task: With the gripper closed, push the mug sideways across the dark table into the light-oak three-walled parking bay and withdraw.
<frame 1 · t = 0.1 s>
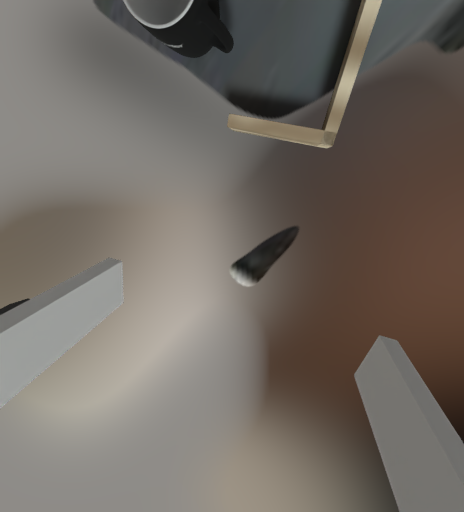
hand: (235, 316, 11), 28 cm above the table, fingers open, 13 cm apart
bay: (298, 57, 28), on the table
mug: (205, 35, 29), on the table
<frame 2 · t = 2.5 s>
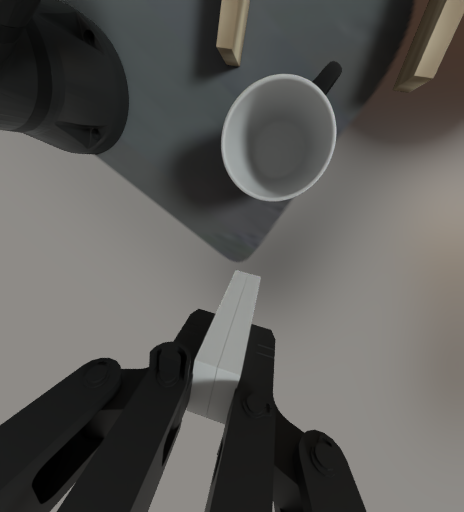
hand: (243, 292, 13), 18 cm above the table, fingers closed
mug: (286, 139, 26), on the table
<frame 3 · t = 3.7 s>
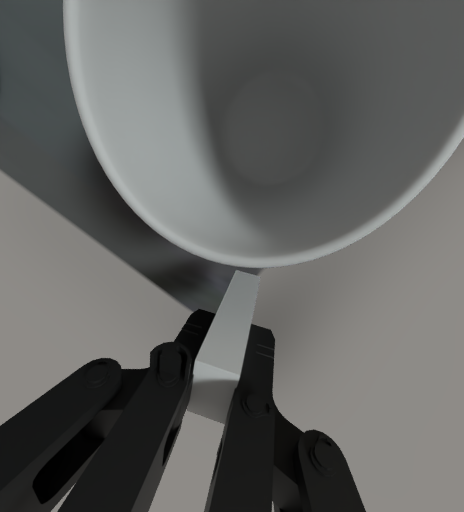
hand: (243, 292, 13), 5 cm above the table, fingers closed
mug: (287, 111, 13), on the table
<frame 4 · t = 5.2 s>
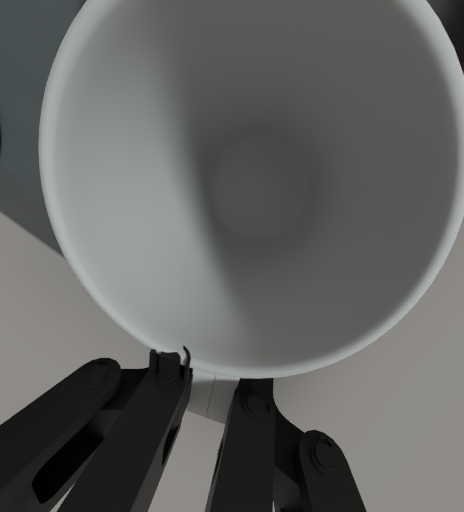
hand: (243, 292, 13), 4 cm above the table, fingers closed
mug: (273, 172, 14), on the table, touching gripper
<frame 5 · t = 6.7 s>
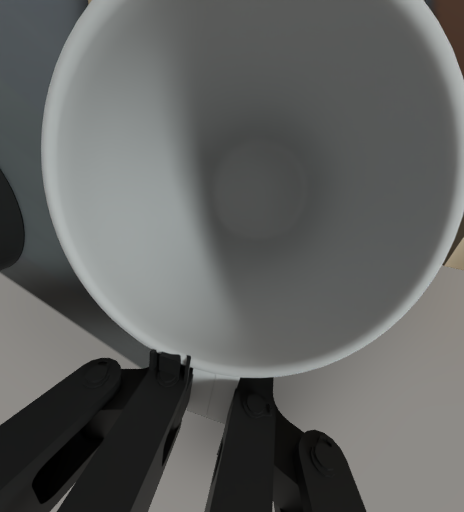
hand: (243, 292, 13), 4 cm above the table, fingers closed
bay: (308, 81, 11), on the table
mug: (273, 173, 14), on the table, touching gripper
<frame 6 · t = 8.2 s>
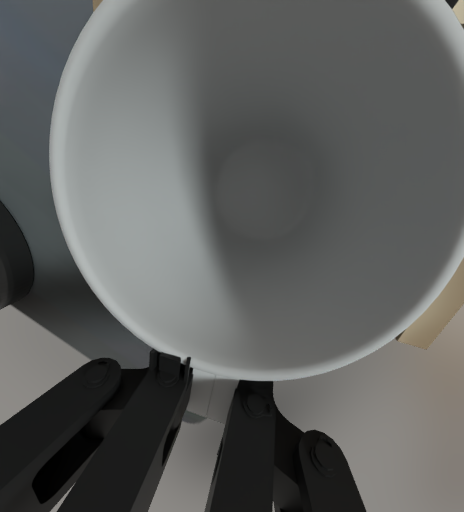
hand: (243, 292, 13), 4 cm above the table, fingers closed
bay: (287, 173, 13), on the table
mug: (278, 173, 14), on the table, touching gripper
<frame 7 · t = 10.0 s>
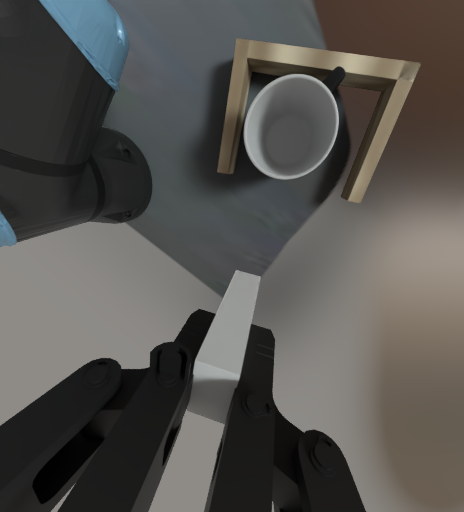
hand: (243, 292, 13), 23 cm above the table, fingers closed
bay: (300, 131, 29), on the table
mug: (295, 131, 29), on the table
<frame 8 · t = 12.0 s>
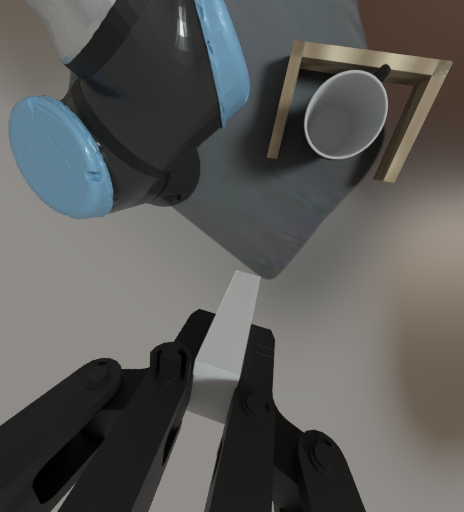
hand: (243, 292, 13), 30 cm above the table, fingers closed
bay: (340, 121, 33), on the table
mug: (335, 121, 34), on the table
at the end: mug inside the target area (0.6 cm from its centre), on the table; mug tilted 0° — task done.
